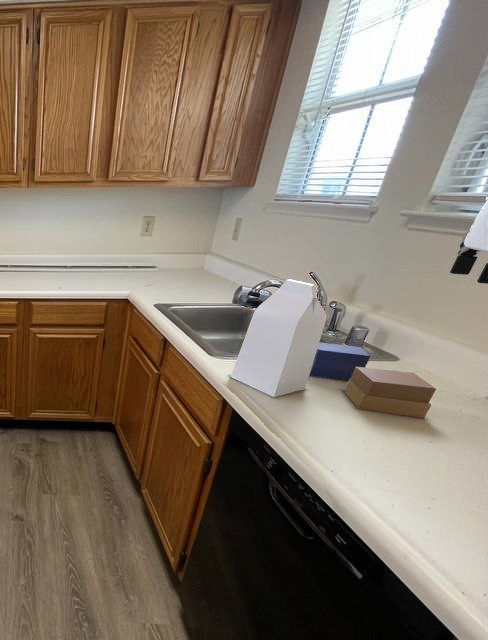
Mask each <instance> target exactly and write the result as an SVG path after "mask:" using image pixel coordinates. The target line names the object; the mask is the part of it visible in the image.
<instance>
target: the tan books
mask: <svg viewBox="0 0 488 640" xmlns="http://www.w3.org/2000/svg"><path fill="white" fill-rule="evenodd" d="M436 391H437V388H436V387H435V386H433V385H432V384H430V383H429V382H427V381H426V380H425V379H423V378H422V377H420V376H419V375H417V374H416V373H415V372H409V371H399V370H391V369H383V368H382V369H381V368H372V367H365V368H364V367H355V369H354V372H353V374H352V376H351V378H350V379H349V381H347V383H346V386H345V388H344V391H343V392H344V393H345V394H346V396H347V397H348V398H349V399H350V400H351V402H352V403H353V404H354V405H355V406H356V408H357V409H361V410H368V411H373V412H380V413H388V414H393V415H401V416H406V417H412V418H413V417H414V418H419V419H420V418H422V419H425V417H426V416H427V414H428V412H429V410H430V408H431V407H432V403H430V401H432V400H431V399H432V398H433V396H434V394H435V392H436Z"/></svg>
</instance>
